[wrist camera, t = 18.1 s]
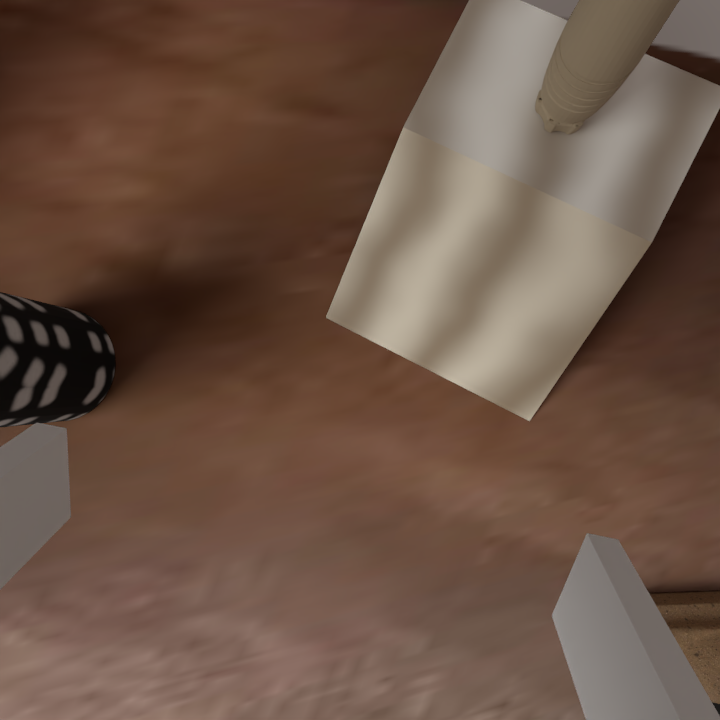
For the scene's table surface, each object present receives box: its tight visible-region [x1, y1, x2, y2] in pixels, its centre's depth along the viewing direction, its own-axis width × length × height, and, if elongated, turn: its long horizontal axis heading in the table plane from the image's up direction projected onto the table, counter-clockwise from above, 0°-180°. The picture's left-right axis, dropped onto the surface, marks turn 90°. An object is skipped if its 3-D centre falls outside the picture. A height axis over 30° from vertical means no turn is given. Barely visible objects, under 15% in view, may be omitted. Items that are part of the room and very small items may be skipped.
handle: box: [535, 0, 679, 134], centre depth 22 cm, size 5×6×15 cm
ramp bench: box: [326, 0, 720, 421], centre depth 33 cm, size 16×22×8 cm
